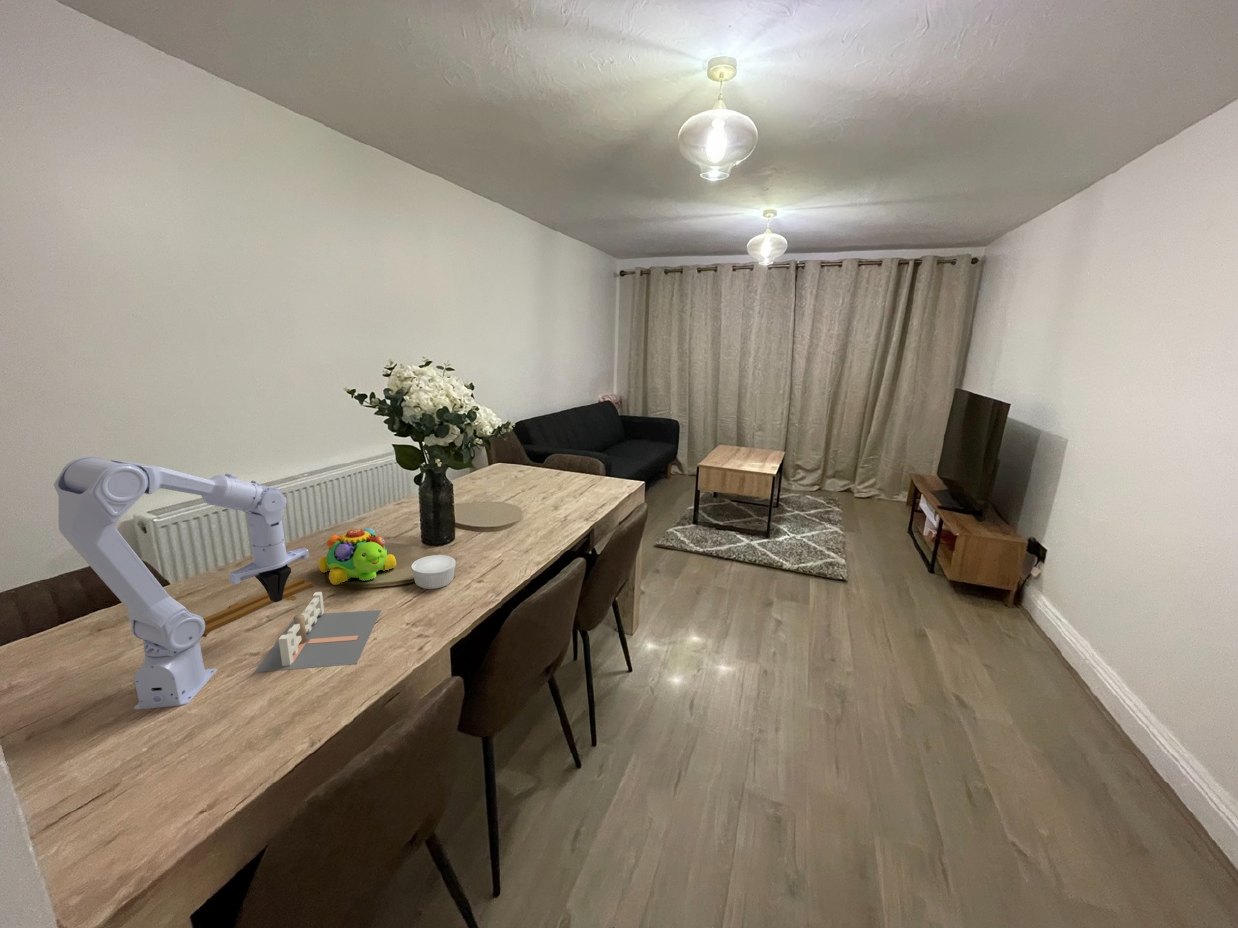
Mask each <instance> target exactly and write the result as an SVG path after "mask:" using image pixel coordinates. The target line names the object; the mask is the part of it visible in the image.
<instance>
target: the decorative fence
mask: <svg viewBox="0 0 1238 928" xmlns="http://www.w3.org/2000/svg"><path fill="white" fill-rule="evenodd" d="M312 587H314V583H313V582H310V581H306V582H305V579H303V578H300V577H299V578H298V579H295V580H293V581H290V582H288V583H286V584H285V587H284V592H283V597H282V600H284V599H285V600H286V601H296V600H297V597H296V596H295V594H298V593H301V592H303V591H305V590H308V589H310V588H312ZM274 603H275V602H273V601H271V600H270V597H269V595H268V593H267V591H266V592H264V593H262V594H259V595H256V596H254V597H252V598H249V599H247V600H245V601H242V602H235V603H233V604H230V605H228V607H227V608H226V609H223V610H220V611H219V612H215V613H214V614H211V615H209V616H206V617H202V618H203V620H204V622H205V631H204V633H203V635H202V636H206V637H207V636H208V635H209V634H210V633H211V632H212V631H215V630H217V629H219V628H221V627H223V626H224V627H225V626H226V625H229V624H231V623H233V622H235V621H237V620H240V619H242V618H243V617H246V616H248V615H250V614H252V613H255V612H256V611H258V610H260V609H263V608H265V607H266V606H269V605H271V604H274Z"/></svg>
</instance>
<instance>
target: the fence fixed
mask: <svg viewBox="0 0 1238 928" xmlns="http://www.w3.org/2000/svg"><path fill="white" fill-rule="evenodd" d="M293 620H294V625H293V627H292V628H290V629H289V630H288V633H287V635H283V634H281V635H280V637H279V638H278V640H279V646H280V653H281V660H282V666H288V665H291V664H292V662H293V655H296V653H297V652H298V645H299V644H304V643H306V642H307V636H306V628H305V620H304V615H301V614H298V615H295V616H294V617H293Z"/></svg>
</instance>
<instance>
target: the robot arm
mask: <svg viewBox="0 0 1238 928" xmlns="http://www.w3.org/2000/svg"><path fill="white" fill-rule="evenodd" d="M237 477H238V476H237V475H236V474H232V473H227V472H225V474H224V475H223V474H217V475H214V476H212V477H209V478H204V477H201V476H197V475H193V474H189V473H185V472H182V471H178V470H174V469H170V468H167V467H163V466H158V465H154V464H148V463H142V462H134V461H128V460H127V461H126V460H121V459H119V460H118V459H110V460H106V459H104V458H101V457H96V456H82V457H78V458H75V459H73V460H72V461H70V462H68V463H67V464H66V465H65V466H64V467H63V468H62V470H61V471H60V473H59V475H58V477H57V478H56V479H55V481H54V483H53V486H54V489H55V491H56V493H57V496H58V529H59V531H60V533H61V534H62V536H63V537H64V538H65V540H67V542H68V543H69V544H70V545H71V546H72V548H74V550H75V551H76V552H77V553H78V554H79V555H80V556H81V557H82V558H83V560H84V561H85V562H86V564H88V565H89V567H91V569H92V570H93V571H94V572H95V573H96V574H97V576H98V577H99V578H100V579H101V580H102V581H103V583H104V584H105V585H106V586H107V587H108V589H110V591H111V592H112V593H113V594H114V595H115V596H116V597H117V598H118V599H119V601H120V602H121V603H122V605H124V606H125V608H126V609H127V610H128V611H127V612H126V614H125V616H126V617H127V618H128V619H129V621H130V627H131V628H130V629H131V633H132V635H133V636H134V637H135V638H137V639H139V640H142V643H143V653H144V658H143V662H142V664H141V665H140V667H139V668H138V670H137V671H136V672H135V674H134V676H133V677H134V678H133V682H134V687H135V691H136V694H137V695H136V696H137V700H138V702H137V704H136V705H135V706H134V707H133V708H134V710H145V709H156V708H167V707H178V706H187V705H188V704H189V703H191V701H193V699H194V698H195V697H196V695H197V694H198V693H199V692H200V691H201V690H202V689H203V688H204V686H206V683H208V682H209V680H211V678H212V677H213V676H214V675H215V673H217V671H218V669H217V668H205V664H204V659H203V653H202V648H201V643H200V640H201V639H202V637H203V636H204V635H203V633H204V631H205V622H204V620H203V618H204V617H202V616H201V615H199V614H195V613H191V612H190V611H189V610H188V609H187V608H186V607H185V606H184V605H183V604H181V603H180V602H178V601H177V600H175V599H174V598H173V597H171V596H170V595H169V593H168V592H167V591H166V590H165V588H164V587H163V586H162V585H161V583H160V582H159V580H158V579H157V578H156V577H155V576H154V574H153V573H152V572H151V571H150V570H149V568H148V567H147V566H146V564H145V563H144V562H143V560H142V559H141V558H140V556H138V554H137V553H136V552H135V551H134V549H133V548H132V547H131V545H130V544H129V543H128V542H127V540H126V539H125V538H124V536H122V534H121V533H120V532H119V531H118V529H117V527H116V524H117V523H118V520H119V519H121V517H123V516H124V515H125V513H126V512H128V510H129V509H130V508H132V506H133V505H134V504H135V503H136V502H138V500H139V499H140V498H141V497H143V495H144V494H146V495H152V494H154V493H155V492H156V491H158V490H160V489H163V490H167V491H168V490H169V491H175V492H181V493H186V494H191V495H197V496H201V497H202V499H203V501H204V502H205V504H207V505H210V506H215V507H219V508H220V507H221V508H225V509H230V510H231V509H232V510H236V511H241V512H246V520H247V525H248V527H247V528H248V533H249V539H250V546H251V552H252V553H251V554H252V559H253V561H252V562H250V563H248V564H246V565H244V566H242V567H240V568H239V569H236V570H234V571H231V572H229V573H228V577H229V582H230V583H231V584H234V585H237V584H240V583H241V582H242V581H245V580H247V579H250V578H253V577H255V578H256V580H257V581H259V583H260V584H261V585H262V586H263V588H264V589H265V591H266V592H267V593H268V595H269V597H270V600H271V601H273V602H274V603H278V602H281V601H283V599H282V597H283V592H284V587H285V584H287V581H288V579H289V577H290V575H291V573H292V568H291V567H290V566H288V565H289V564H292V563H294V562H297V561H300V560H302V559H303V560H306V559H309V558H310V553H309V549H308V548H305V547H301V548H298V549H294V550H289V551H287V549H286V547H287V546H286V540H285V534H284V526H283V518H284V509H285V507H286V505H287V503H288V500H287V497H285V495H284V494H283V492H282V491H281V490H280V489H278V488H276V487H272V486H267V485H262V484H261V483H260V481H257V480H251V481H247V480H242V479H238V478H237ZM260 484H261V485H260Z"/></svg>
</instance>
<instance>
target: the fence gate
mask: <svg viewBox="0 0 1238 928" xmlns="http://www.w3.org/2000/svg"><path fill="white" fill-rule="evenodd" d="M324 606H325V605H324V597H323V592H322V591H315V592H314V593H313V595H312V599H311V601H310V602H309V604H308V605H307V606H306V608H305V609H304V610H303V612H302V613H301V614H300V615H304V620H305V628H306V633H307V632H310V631H311V629H312V628H311V625H312V624H315V623H316V622H317V616H319V615H323V614H325V609H324V608H325V607H324Z"/></svg>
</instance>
